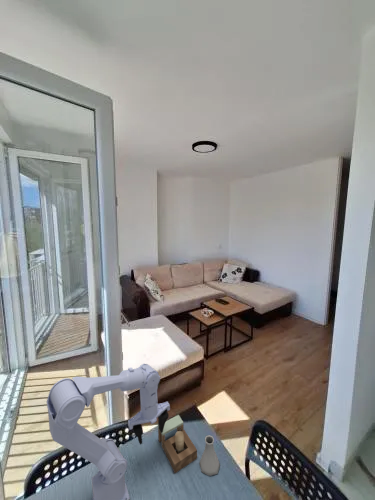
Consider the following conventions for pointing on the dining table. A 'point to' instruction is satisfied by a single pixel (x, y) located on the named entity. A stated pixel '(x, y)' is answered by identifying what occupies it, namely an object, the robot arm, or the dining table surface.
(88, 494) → the dining table surface
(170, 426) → the bench
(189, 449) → the socket
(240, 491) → the dining table surface
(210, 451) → the flask
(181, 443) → the peg
